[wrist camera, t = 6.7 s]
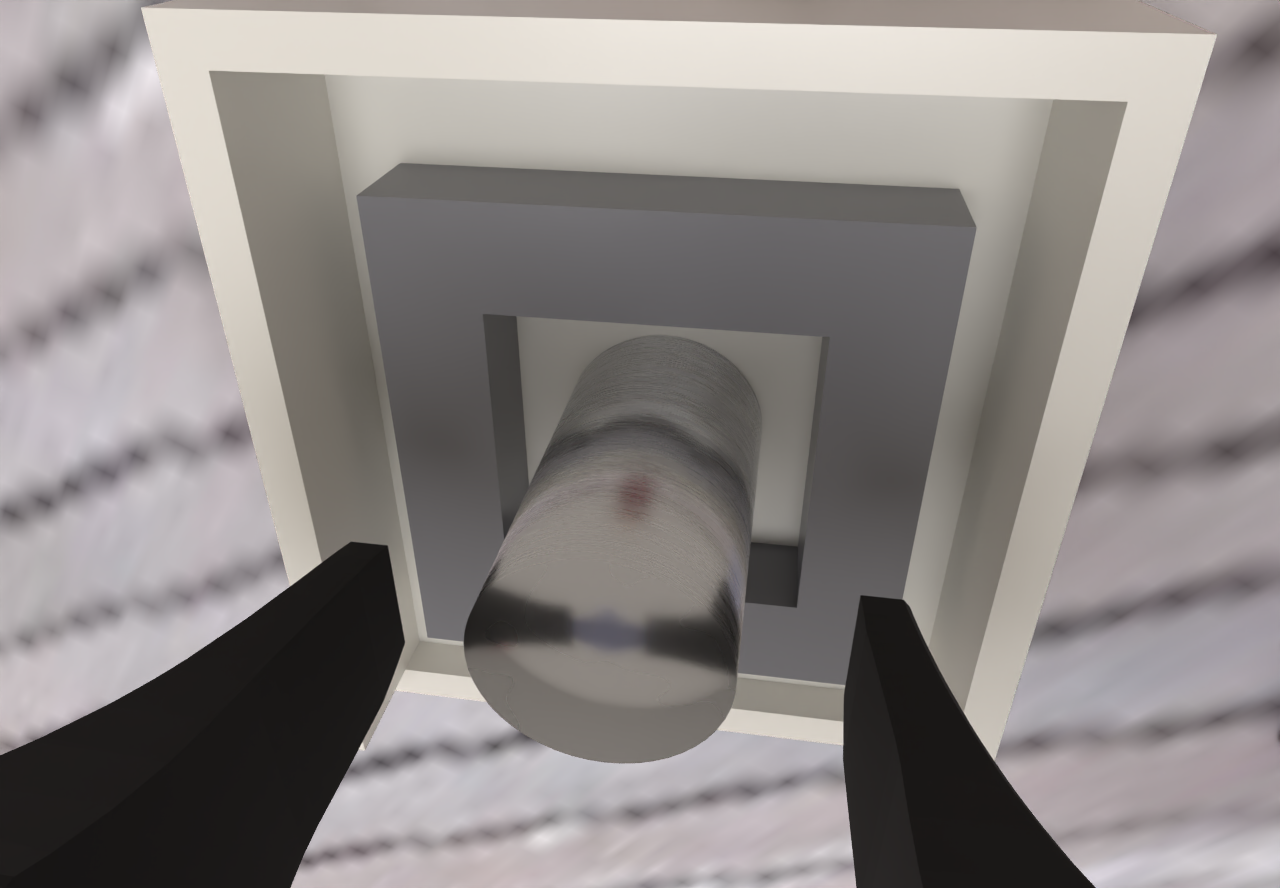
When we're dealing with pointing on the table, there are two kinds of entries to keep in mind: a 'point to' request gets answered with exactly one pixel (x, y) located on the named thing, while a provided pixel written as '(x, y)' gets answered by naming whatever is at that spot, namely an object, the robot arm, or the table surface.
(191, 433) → the table surface
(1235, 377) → the table surface
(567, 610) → the metal plug
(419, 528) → the walled box
